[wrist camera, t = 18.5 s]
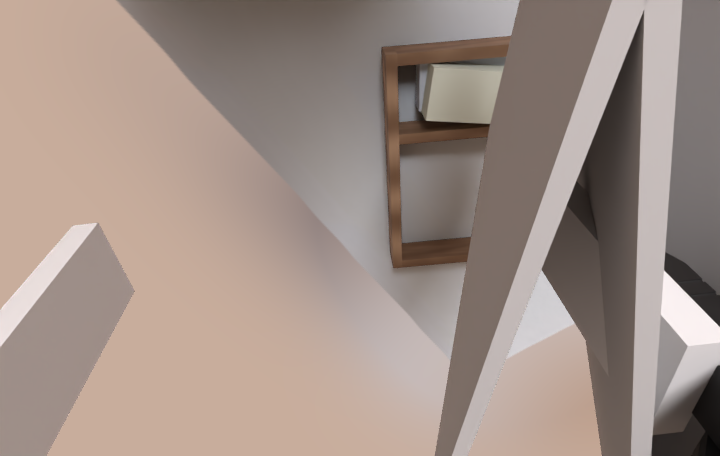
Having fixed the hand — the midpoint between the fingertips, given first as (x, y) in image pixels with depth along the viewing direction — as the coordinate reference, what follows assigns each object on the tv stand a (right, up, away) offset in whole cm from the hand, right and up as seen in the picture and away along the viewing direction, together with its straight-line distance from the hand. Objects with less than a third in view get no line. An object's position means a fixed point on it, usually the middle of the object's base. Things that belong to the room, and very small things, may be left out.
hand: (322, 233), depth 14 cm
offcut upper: (+14, +16, +36) cm, 42 cm away
